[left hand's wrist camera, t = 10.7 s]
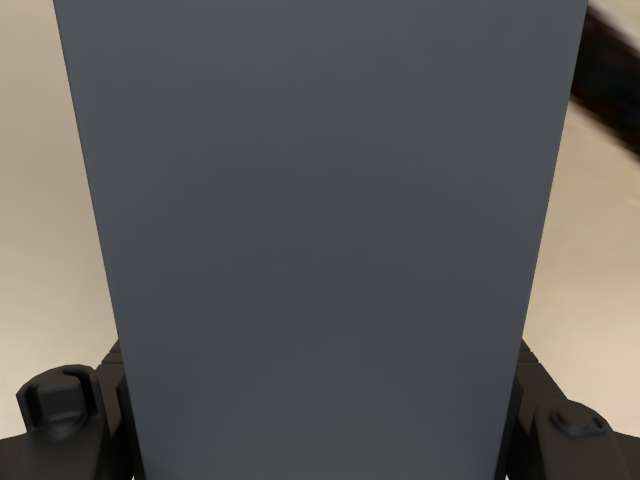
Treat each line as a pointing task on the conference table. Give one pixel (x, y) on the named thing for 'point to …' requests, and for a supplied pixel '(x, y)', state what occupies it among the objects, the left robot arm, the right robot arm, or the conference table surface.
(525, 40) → the bar
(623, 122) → the conference table surface
